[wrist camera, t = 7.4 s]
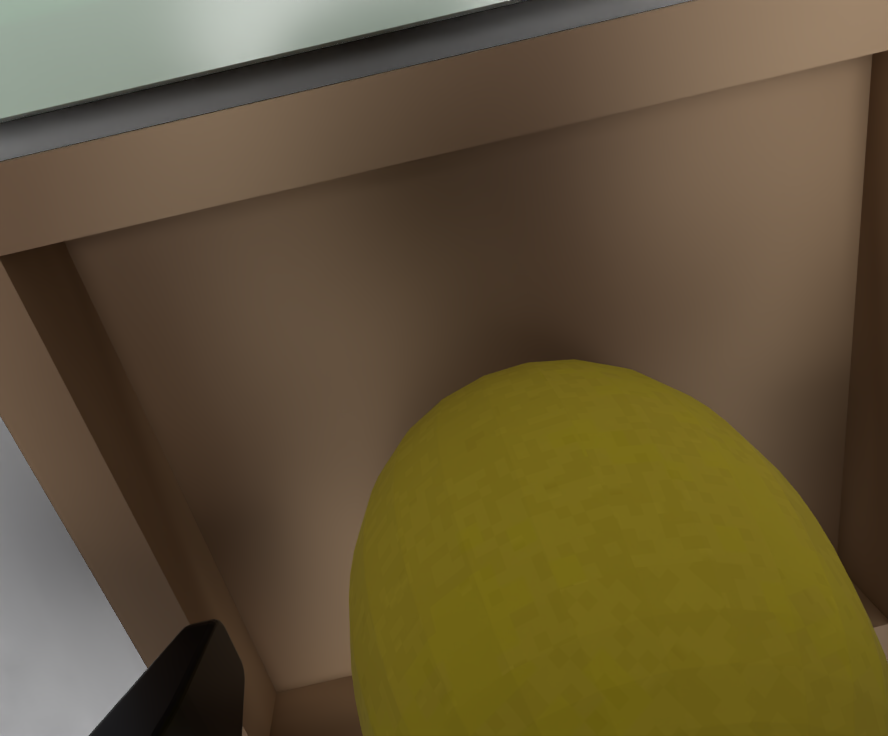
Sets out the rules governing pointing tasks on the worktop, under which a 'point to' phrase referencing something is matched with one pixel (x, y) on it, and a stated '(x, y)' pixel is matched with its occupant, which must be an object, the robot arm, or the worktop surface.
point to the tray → (444, 301)
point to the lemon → (600, 574)
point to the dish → (176, 41)
